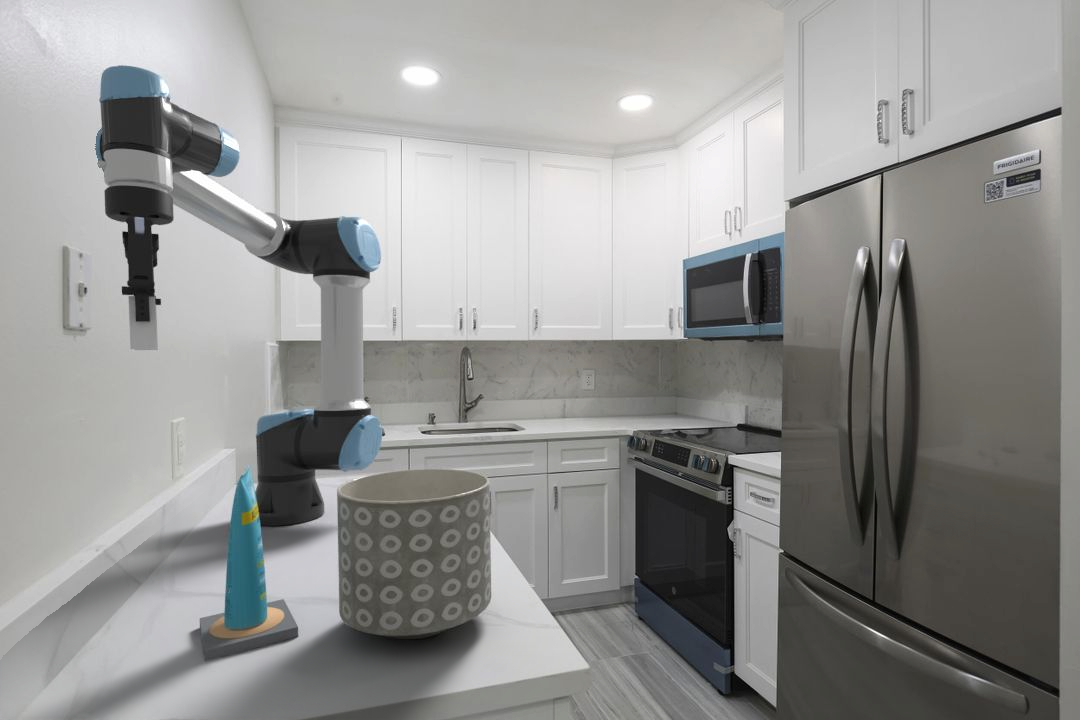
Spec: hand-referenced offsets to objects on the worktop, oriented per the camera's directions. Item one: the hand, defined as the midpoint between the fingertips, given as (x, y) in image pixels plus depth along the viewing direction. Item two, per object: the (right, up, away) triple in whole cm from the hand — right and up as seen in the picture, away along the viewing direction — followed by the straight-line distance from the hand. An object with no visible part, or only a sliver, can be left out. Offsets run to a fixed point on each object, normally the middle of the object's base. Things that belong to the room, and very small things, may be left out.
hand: (145, 349), depth 77 cm
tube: (+16, -35, -5) cm, 38 cm away
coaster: (+16, -36, -5) cm, 39 cm away
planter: (+37, -36, -3) cm, 52 cm away
